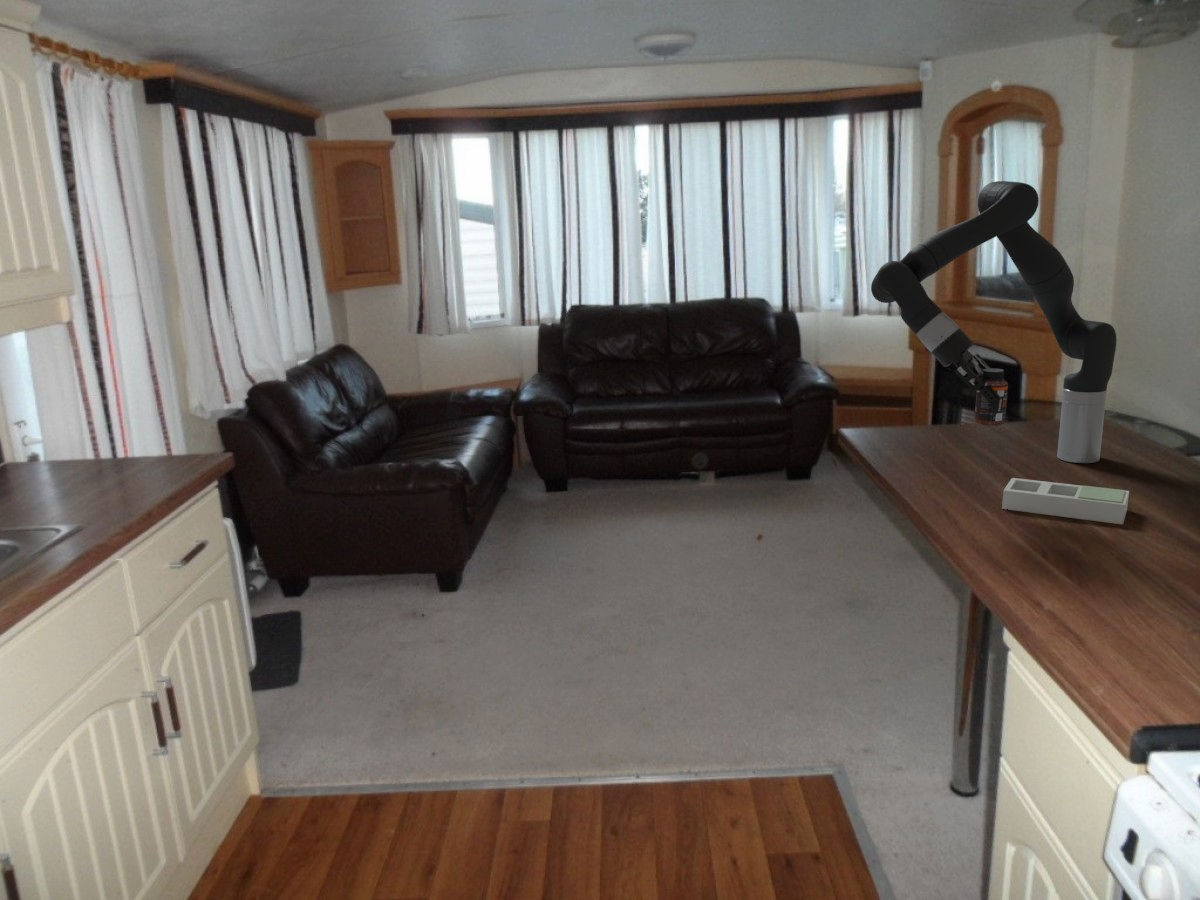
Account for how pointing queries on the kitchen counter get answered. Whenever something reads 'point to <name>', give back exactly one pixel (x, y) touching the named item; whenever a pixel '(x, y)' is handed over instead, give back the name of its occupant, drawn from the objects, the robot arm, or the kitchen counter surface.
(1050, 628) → the kitchen counter surface
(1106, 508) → the board
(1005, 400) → the supplement bottle
